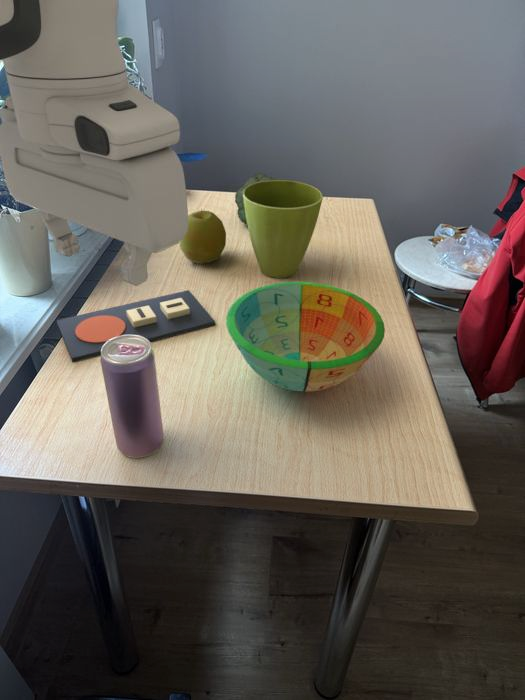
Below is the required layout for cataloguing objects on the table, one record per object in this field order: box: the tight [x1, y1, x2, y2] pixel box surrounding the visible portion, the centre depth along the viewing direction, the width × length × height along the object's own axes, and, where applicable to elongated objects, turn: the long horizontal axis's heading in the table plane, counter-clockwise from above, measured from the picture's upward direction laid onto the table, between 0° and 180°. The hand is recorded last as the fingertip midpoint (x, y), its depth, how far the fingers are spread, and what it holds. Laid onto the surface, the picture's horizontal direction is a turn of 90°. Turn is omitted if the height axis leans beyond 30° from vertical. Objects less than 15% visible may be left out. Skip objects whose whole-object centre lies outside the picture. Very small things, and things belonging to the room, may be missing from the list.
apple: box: [178, 208, 227, 264], centre depth 108 cm, size 10×10×11 cm
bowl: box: [225, 281, 386, 392], centre depth 78 cm, size 22×22×10 cm
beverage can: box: [100, 335, 165, 459], centre depth 64 cm, size 6×6×15 cm
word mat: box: [55, 289, 216, 363], centre depth 90 cm, size 24×12×2 cm, turn 118°
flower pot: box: [243, 179, 324, 279], centre depth 103 cm, size 15×15×16 cm
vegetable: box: [234, 172, 279, 226], centre depth 126 cm, size 12×13×15 cm
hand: (100, 266), depth 50 cm, fingers open, 8 cm apart
